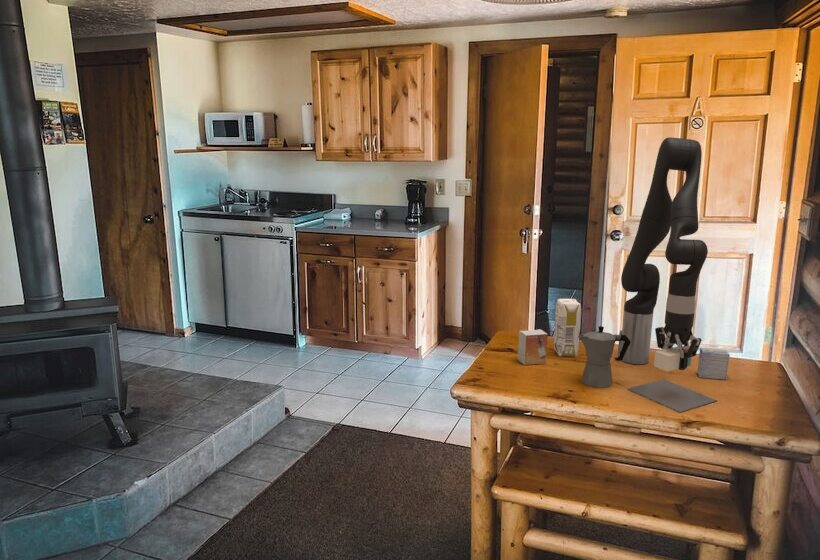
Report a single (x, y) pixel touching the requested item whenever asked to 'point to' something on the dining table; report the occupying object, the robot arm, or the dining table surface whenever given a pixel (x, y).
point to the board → (672, 395)
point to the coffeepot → (600, 356)
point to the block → (668, 359)
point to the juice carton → (567, 327)
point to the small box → (532, 347)
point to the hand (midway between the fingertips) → (674, 366)
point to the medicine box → (713, 363)
